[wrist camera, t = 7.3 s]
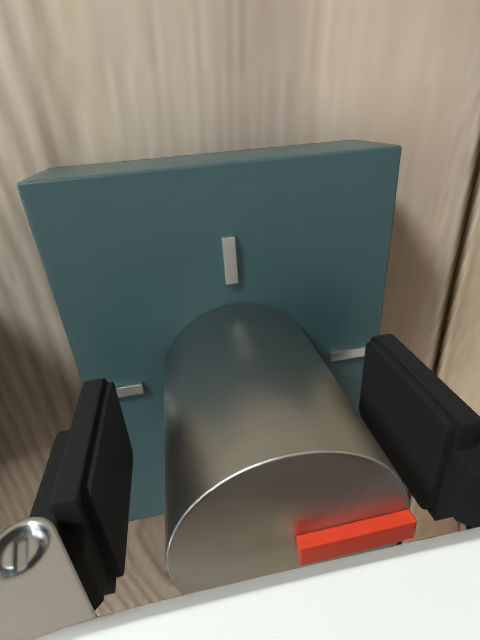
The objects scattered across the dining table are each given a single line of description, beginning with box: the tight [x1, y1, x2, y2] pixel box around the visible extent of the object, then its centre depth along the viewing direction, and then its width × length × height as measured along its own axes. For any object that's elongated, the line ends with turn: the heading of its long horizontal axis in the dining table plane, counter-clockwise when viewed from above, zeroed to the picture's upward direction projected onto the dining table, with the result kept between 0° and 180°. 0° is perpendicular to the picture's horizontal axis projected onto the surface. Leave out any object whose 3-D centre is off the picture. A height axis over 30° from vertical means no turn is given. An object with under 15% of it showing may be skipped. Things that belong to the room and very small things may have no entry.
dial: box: [164, 304, 417, 595], centre depth 10 cm, size 5×5×6 cm
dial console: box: [17, 140, 401, 521], centre depth 14 cm, size 13×10×3 cm
